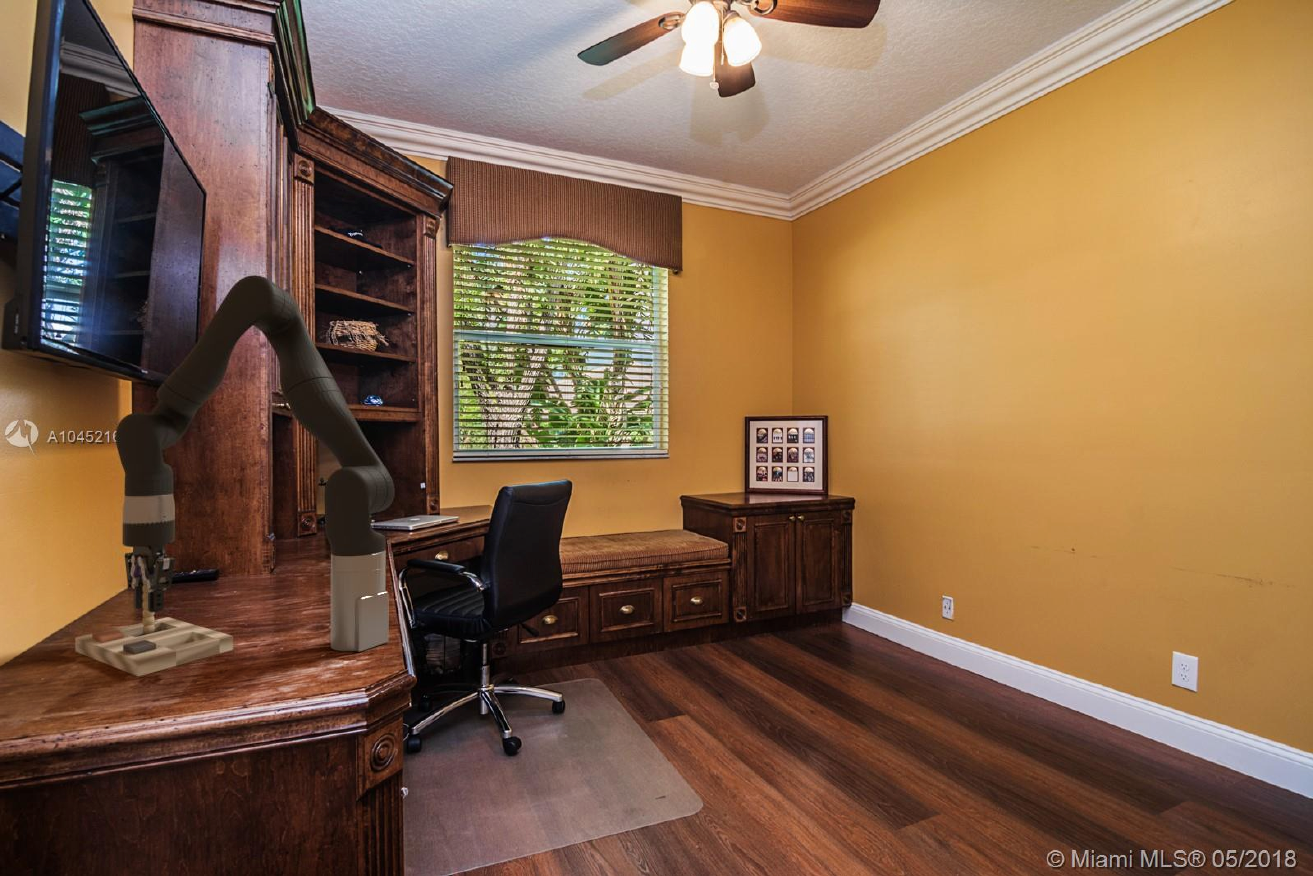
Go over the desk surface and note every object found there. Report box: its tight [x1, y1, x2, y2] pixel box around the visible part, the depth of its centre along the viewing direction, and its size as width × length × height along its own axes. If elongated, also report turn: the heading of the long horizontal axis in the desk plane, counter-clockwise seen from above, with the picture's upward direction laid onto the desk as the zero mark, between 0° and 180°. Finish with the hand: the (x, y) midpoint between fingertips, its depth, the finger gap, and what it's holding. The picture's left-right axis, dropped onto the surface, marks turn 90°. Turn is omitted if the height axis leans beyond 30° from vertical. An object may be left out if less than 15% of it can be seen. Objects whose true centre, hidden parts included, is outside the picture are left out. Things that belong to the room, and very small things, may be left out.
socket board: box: [74, 616, 234, 677], centre depth 108 cm, size 24×14×4 cm, turn 62°
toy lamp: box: [133, 555, 156, 637], centre depth 113 cm, size 5×5×17 cm
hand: (148, 609), depth 112 cm, fingers open, 4 cm apart
